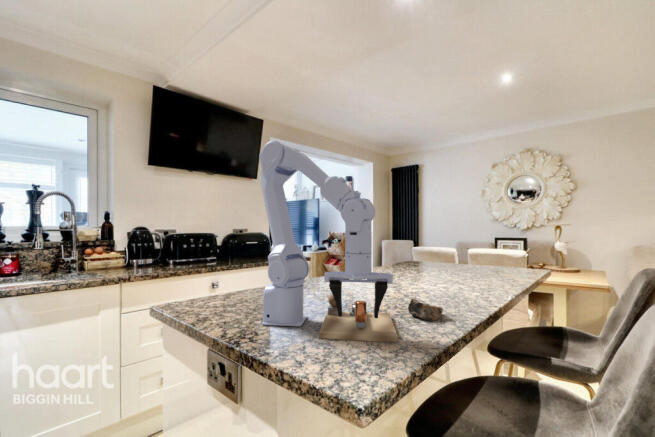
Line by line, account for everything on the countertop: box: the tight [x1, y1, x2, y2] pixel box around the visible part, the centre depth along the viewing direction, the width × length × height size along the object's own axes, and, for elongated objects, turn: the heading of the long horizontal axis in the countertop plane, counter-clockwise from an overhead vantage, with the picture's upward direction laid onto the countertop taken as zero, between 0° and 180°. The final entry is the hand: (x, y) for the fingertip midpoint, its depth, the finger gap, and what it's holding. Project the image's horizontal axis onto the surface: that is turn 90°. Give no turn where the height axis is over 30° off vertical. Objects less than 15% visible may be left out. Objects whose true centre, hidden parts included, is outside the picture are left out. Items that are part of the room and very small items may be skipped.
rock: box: [407, 298, 444, 322], centre depth 77 cm, size 9×6×10 cm
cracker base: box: [318, 293, 399, 343], centre depth 68 cm, size 16×16×6 cm
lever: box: [351, 300, 367, 328], centre depth 70 cm, size 17×3×5 cm, turn 177°
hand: (357, 316), depth 63 cm, fingers open, 7 cm apart
